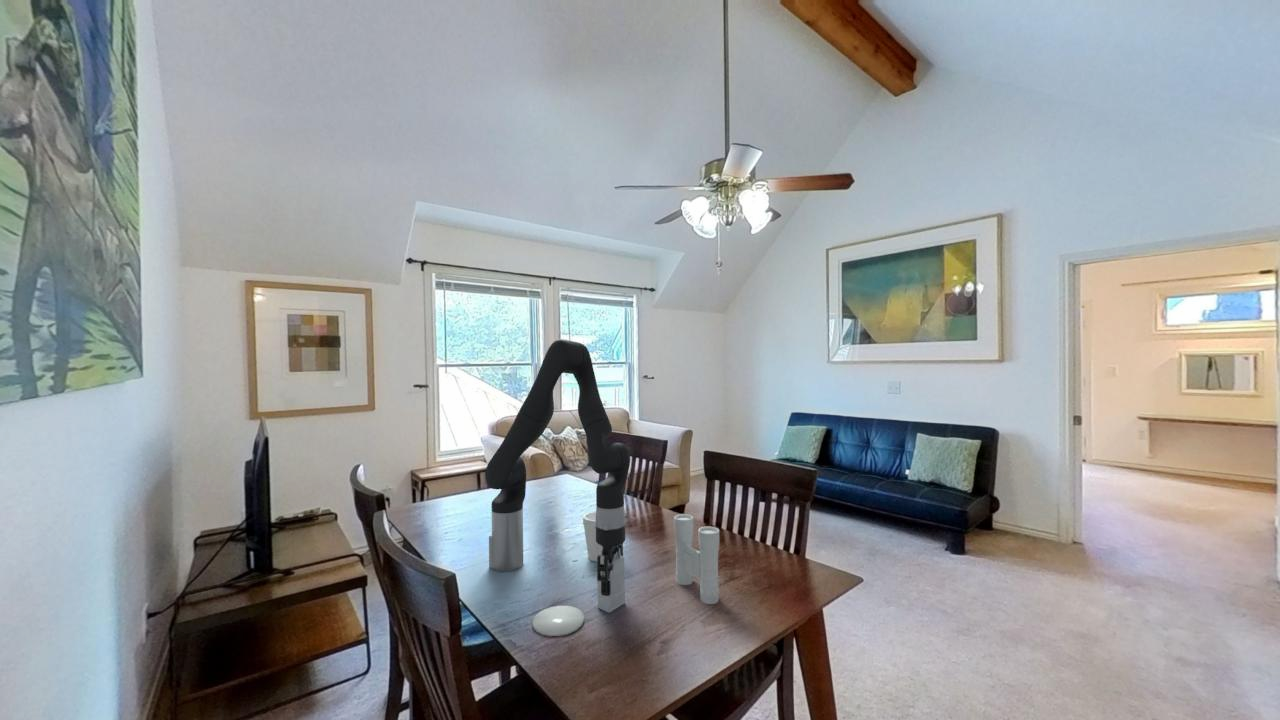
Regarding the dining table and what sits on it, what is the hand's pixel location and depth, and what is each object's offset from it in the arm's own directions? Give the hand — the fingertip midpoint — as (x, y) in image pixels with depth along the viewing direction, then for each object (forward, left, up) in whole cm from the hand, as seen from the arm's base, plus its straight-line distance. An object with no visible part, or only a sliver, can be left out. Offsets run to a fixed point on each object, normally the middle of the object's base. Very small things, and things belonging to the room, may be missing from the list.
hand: (611, 587), depth 120 cm
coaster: (-10, -10, -5) cm, 15 cm away
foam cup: (-13, +28, -5) cm, 31 cm away
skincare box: (0, 0, -5) cm, 5 cm away
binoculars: (+20, +13, -5) cm, 24 cm away
